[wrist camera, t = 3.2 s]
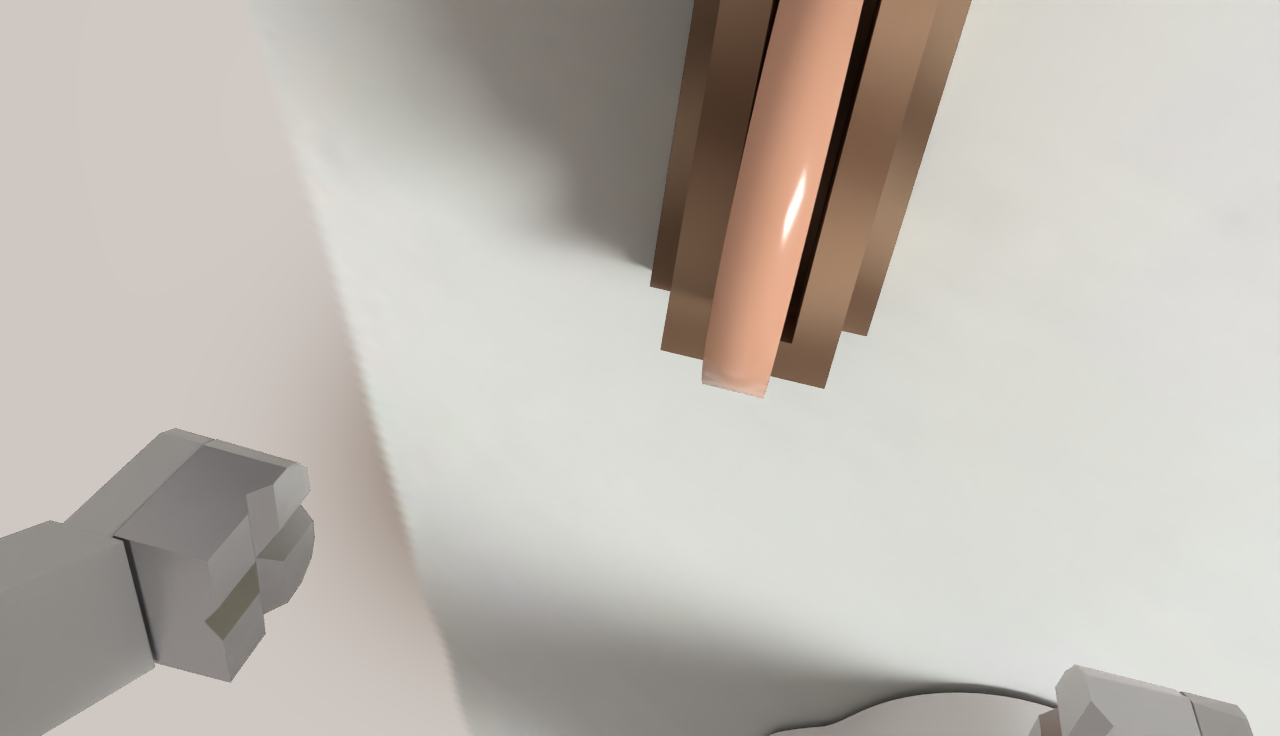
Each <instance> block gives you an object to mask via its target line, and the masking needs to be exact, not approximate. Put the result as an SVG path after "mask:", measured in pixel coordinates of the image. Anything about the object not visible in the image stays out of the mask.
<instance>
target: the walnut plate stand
mask: <svg viewBox="0 0 1280 736" xmlns="http://www.w3.org/2000/svg"><path fill="white" fill-rule="evenodd" d="M971 1H972V0H864V1H863V5H862V9H861V14H860V18H859V22H858V27H857V31H856V35H855V39H854V43H853V48H852V52H851V56H850V60H849V64H848V69H847V73H846V77H845V81H844V85H843V89H842V94H841V98H840V102H839V106H838V110H837V114H836V118H835V123H834V127H833V131H832V135H831V139H830V143H829V147H828V151H827V155H826V159H825V164H824V168H823V172H822V176H821V180H820V184H819V188H818V192H817V196H816V200H815V204H814V208H813V212H812V216H811V220H810V224H809V228H808V232H807V236H806V240H805V244H804V248H803V252H802V256H801V260H800V264H799V268H798V272H797V276H796V280H795V284H794V288H793V291H792V295H791V299H790V303H789V307H788V311H787V315H786V319H785V323H784V326H783V330H782V334H781V338H780V342H779V345H778V349H777V353H776V357H775V360H774V364H773V368H772V371H771V375H770V376H772V377H777V378H781V379H785V380H789V381H794V382H798V383H802V384H806V385H810V386H815V387H819V388H823V389H824V388H825V385H826V381H827V378H828V375H829V371H830V368H831V364H832V361H833V358H834V354H835V351H836V347H837V344H838V341H839V337H840V334H841V331H846V332H850V333H854V334H859V335H863V336H867V333H868V330H869V327H870V324H871V321H872V317H873V314H874V311H875V308H876V305H877V301H878V298H879V295H880V292H881V289H882V285H883V282H884V279H885V276H886V273H887V269H888V266H889V263H890V260H891V257H892V253H893V250H894V247H895V244H896V241H897V237H898V234H899V231H900V228H901V225H902V221H903V218H904V215H905V212H906V209H907V205H908V202H909V199H910V196H911V193H912V189H913V186H914V183H915V180H916V177H917V173H918V170H919V167H920V164H921V161H922V157H923V154H924V151H925V148H926V145H927V141H928V138H929V135H930V132H931V129H932V126H933V122H934V119H935V116H936V113H937V110H938V106H939V103H940V100H941V97H942V94H943V90H944V87H945V84H946V81H947V78H948V74H949V71H950V68H951V65H952V62H953V58H954V55H955V52H956V49H957V46H958V42H959V39H960V36H961V33H962V30H963V26H964V23H965V20H966V17H967V14H968V10H969V7H970V4H971ZM779 2H780V0H695V2H694V8H693V14H692V21H691V27H690V34H689V40H688V46H687V53H686V59H685V65H684V72H683V78H682V85H681V91H680V97H679V104H678V110H677V116H676V123H675V129H674V136H673V142H672V148H671V155H670V161H669V167H668V174H667V180H666V187H665V193H664V199H663V206H662V212H661V219H660V225H659V231H658V238H657V244H656V250H655V257H654V263H653V270H652V276H651V282H650V287H654V288H659V289H663V290H667V291H671V292H670V297H669V303H668V309H667V315H666V321H665V327H664V332H663V338H662V344H661V350H663V351H667V352H671V353H676V354H680V355H684V356H688V357H692V358H697V359H701V360H703V358H704V351H705V344H706V338H707V332H708V326H709V320H710V314H711V308H712V303H713V297H714V292H715V287H716V281H717V276H718V271H719V266H720V261H721V256H722V251H723V246H724V241H725V236H726V231H727V226H728V222H729V217H730V212H731V207H732V203H733V198H734V193H735V189H736V184H737V179H738V175H739V170H740V166H741V161H742V157H743V152H744V148H745V143H746V139H747V134H748V130H749V126H750V122H751V117H752V113H753V109H754V104H755V100H756V96H757V91H758V87H759V83H760V79H761V75H762V70H763V66H764V62H765V58H766V54H767V50H768V46H769V42H770V38H771V34H772V30H773V26H774V22H775V18H776V14H777V10H778V6H779Z"/></svg>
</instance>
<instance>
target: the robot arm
mask: <svg viewBox="0 0 1280 736" xmlns="http://www.w3.org/2000/svg"><path fill="white" fill-rule="evenodd" d="M309 492H310V484H309V478H308V470H307V467H305V466H303V465H301V464H300V463H297V462H294V461H291V460H287V459H283V458H280V457H277V456H273V455H270V454H266V453H263V452H259V451H256V450H252V449H249V448H245V447H242V446H239V445H235V444H232V443H228V442H224V441H221V440H218V439H216V440H215V439H211V438H208V437H205V436H201V435H198V434H194V433H190V432H187V431H183V430H180V429H177V428H175V429H171V430H169V431H166V432H163V433H160V434H159V435H158V436H157V437H156V438H155V439H154V440H152V441H151V442H150V443H149V444H148V445H147V446H146V447H145V448H144V449H143V450H142V451H141V452H140V453H138V455H136V456H135V457H134V458H133V459H132V460H131V461H130V462H129V463H128V464H126V465H125V466H124V467H123V468H122V469H121V470H120V471H119V472H118V473H117V474H116V475H115V476H114V477H112V478H111V479H110V480H109V481H108V482H107V483H106V484H105V485H104V486H103V487H102V488H101V489H100V490H99V491H97V492H96V493H95V494H94V495H93V496H92V497H91V498H90V499H89V500H88V501H87V502H86V503H84V505H82V506H81V507H80V508H79V509H78V510H77V511H76V512H75V513H74V514H73V515H72V516H70V517H69V518H68V519H67V520H66V521H65V522H64V523H63V524H62V523H58V522H54V521H47V522H44V523H41V524H39V525H36V526H33V527H30V528H28V529H25V530H22V531H19V532H16V533H14V534H11V535H8V536H5V537H2V538H0V736H41V735H43V734H45V733H46V732H48V731H50V730H51V729H53V728H55V727H56V726H58V725H60V724H61V723H63V722H65V721H66V720H68V719H70V718H71V717H73V716H75V715H76V714H78V713H80V712H81V711H83V710H85V709H86V708H88V707H90V706H91V705H93V704H95V703H96V702H98V701H100V700H102V699H103V698H105V697H107V696H108V695H110V694H112V693H113V692H115V691H117V690H118V689H120V688H122V687H123V686H125V685H127V684H128V683H130V682H132V681H133V680H135V679H137V678H138V677H140V676H141V675H143V674H145V673H147V672H148V671H150V670H152V669H153V668H154V667H155V664H154V663H158V664H161V665H166V666H169V667H173V668H177V669H181V670H184V671H188V672H192V673H196V674H200V675H204V676H207V677H211V678H215V679H219V680H223V681H227V682H231V681H232V680H233V678H234V677H235V675H236V674H237V672H238V671H239V670H240V668H241V667H242V666H243V664H244V663H245V661H246V660H247V659H248V657H249V656H250V654H251V653H252V652H253V650H254V649H255V648H256V646H257V645H258V643H259V642H260V641H261V639H262V638H263V637H264V635H265V626H264V617H263V614H265V613H267V612H269V611H271V610H273V609H275V608H277V607H279V606H281V605H283V604H285V603H288V601H289V600H290V598H291V597H292V596H293V594H294V593H295V591H296V590H297V588H298V587H299V585H300V584H301V582H302V580H303V578H304V575H305V572H306V570H307V568H308V565H309V563H310V560H311V557H312V552H313V545H314V538H315V536H314V524H313V520H312V519H311V517H310V516H309V515H308V513H307V512H306V511H305V509H304V508H303V507H302V506H301V502H302V501H303V500H304V498H305V497H306V496H307V495H308V493H309ZM1055 690H1056V696H1057V703H1058V708H1055V709H1053V708H1051V707H1048V706H1044V705H1041V704H1037V703H1033V702H1029V701H1025V700H1021V699H1016V698H1011V697H1005V696H998V695H990V694H980V693H935V694H924V695H917V696H910V697H905V698H900V699H896V700H892V701H888V702H885V703H882V704H879V705H876V706H873V707H870V708H868V709H865V710H863V711H861V712H859V713H857V714H855V715H852V716H850V717H848V718H846V719H844V720H842V721H839V722H837V723H834V724H831V725H828V726H823V727H812V728H802V729H793V730H786V731H781V732H777V733H774V734H771V735H769V736H1253V733H1252V731H1251V728H1250V725H1249V722H1248V719H1247V717H1246V715H1245V714H1244V713H1243V712H1242V711H1241V709H1240V708H1239V707H1238V706H1237V705H1234V704H1230V703H1226V702H1222V701H1218V700H1214V699H1210V698H1206V697H1202V696H1198V695H1194V694H1190V693H1186V692H1178V691H1176V690H1174V689H1171V688H1167V687H1163V686H1159V685H1155V684H1151V683H1147V682H1143V681H1139V680H1135V679H1131V678H1127V677H1123V676H1119V675H1115V674H1111V673H1107V672H1103V671H1099V670H1095V669H1091V668H1087V667H1083V666H1079V665H1074V666H1073V667H1071V668H1070V669H1068V670H1067V671H1065V673H1064V674H1063V676H1062V677H1061V679H1060V681H1059V682H1058V684H1057V685H1056V687H1055Z"/></svg>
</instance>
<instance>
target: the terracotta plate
mask: <svg viewBox="0 0 1280 736" xmlns="http://www.w3.org/2000/svg"><path fill="white" fill-rule="evenodd" d="M863 1H864V0H780V2H779V6H778V10H777V14H776V18H775V22H774V26H773V30H772V34H771V38H770V42H769V46H768V50H767V54H766V58H765V62H764V66H763V70H762V75H761V79H760V83H759V87H758V91H757V96H756V100H755V104H754V109H753V113H752V117H751V122H750V126H749V130H748V134H747V139H746V143H745V148H744V152H743V157H742V161H741V166H740V170H739V175H738V179H737V184H736V189H735V193H734V198H733V203H732V207H731V212H730V217H729V222H728V226H727V231H726V236H725V241H724V246H723V251H722V256H721V261H720V266H719V271H718V276H717V281H716V287H715V292H714V297H713V303H712V308H711V314H710V320H709V326H708V332H707V338H706V344H705V351H704V358H703V367H702V384H706V385H710V386H714V387H718V388H722V389H727V390H731V391H735V392H739V393H743V394H747V395H752V396H756V397H760V398H764V395H765V392H766V389H767V386H768V382H769V379H770V375H771V371H772V368H773V364H774V360H775V357H776V353H777V349H778V345H779V342H780V338H781V334H782V330H783V326H784V323H785V319H786V315H787V311H788V307H789V303H790V299H791V295H792V291H793V288H794V284H795V280H796V276H797V272H798V268H799V264H800V260H801V256H802V252H803V248H804V244H805V240H806V236H807V232H808V228H809V224H810V220H811V216H812V212H813V208H814V204H815V200H816V196H817V192H818V188H819V184H820V180H821V176H822V172H823V168H824V164H825V159H826V155H827V151H828V147H829V143H830V139H831V135H832V131H833V127H834V123H835V118H836V114H837V110H838V106H839V102H840V98H841V94H842V89H843V85H844V81H845V77H846V73H847V69H848V64H849V60H850V56H851V52H852V48H853V43H854V39H855V35H856V31H857V27H858V22H859V18H860V14H861V9H862V5H863Z"/></svg>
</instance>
